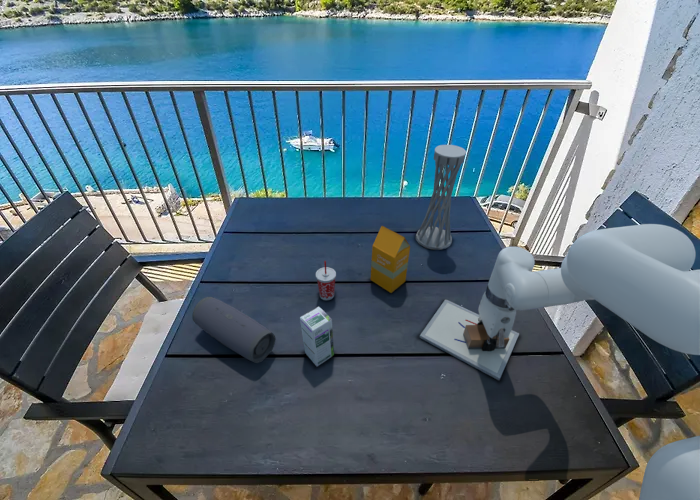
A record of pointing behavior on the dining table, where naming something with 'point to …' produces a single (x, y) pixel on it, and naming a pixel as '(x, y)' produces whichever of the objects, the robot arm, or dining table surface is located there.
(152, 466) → the dining table surface
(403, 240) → the orange juice
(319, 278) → the beverage cup
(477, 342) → the eraser
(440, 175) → the grey lattice tower
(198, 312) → the bluetooth speaker
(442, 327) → the board
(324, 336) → the syrup box
